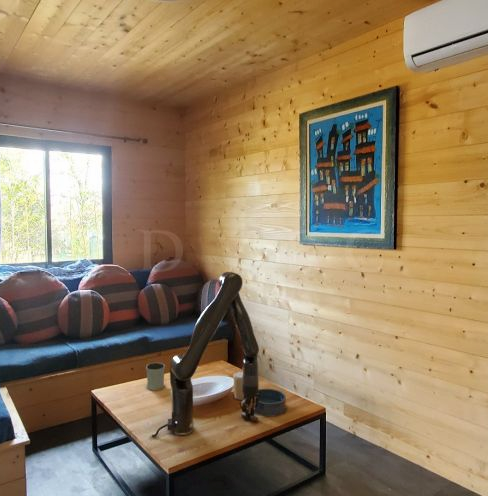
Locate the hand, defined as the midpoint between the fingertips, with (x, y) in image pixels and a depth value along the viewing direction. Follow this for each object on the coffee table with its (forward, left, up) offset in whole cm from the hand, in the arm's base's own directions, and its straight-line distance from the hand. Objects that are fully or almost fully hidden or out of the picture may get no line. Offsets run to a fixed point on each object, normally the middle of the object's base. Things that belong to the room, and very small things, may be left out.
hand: (249, 418), depth 196 cm
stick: (0, 0, -1) cm, 1 cm away
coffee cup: (0, +24, -1) cm, 24 cm away
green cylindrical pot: (-45, +40, -1) cm, 60 cm away
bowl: (+11, +11, -1) cm, 16 cm away
